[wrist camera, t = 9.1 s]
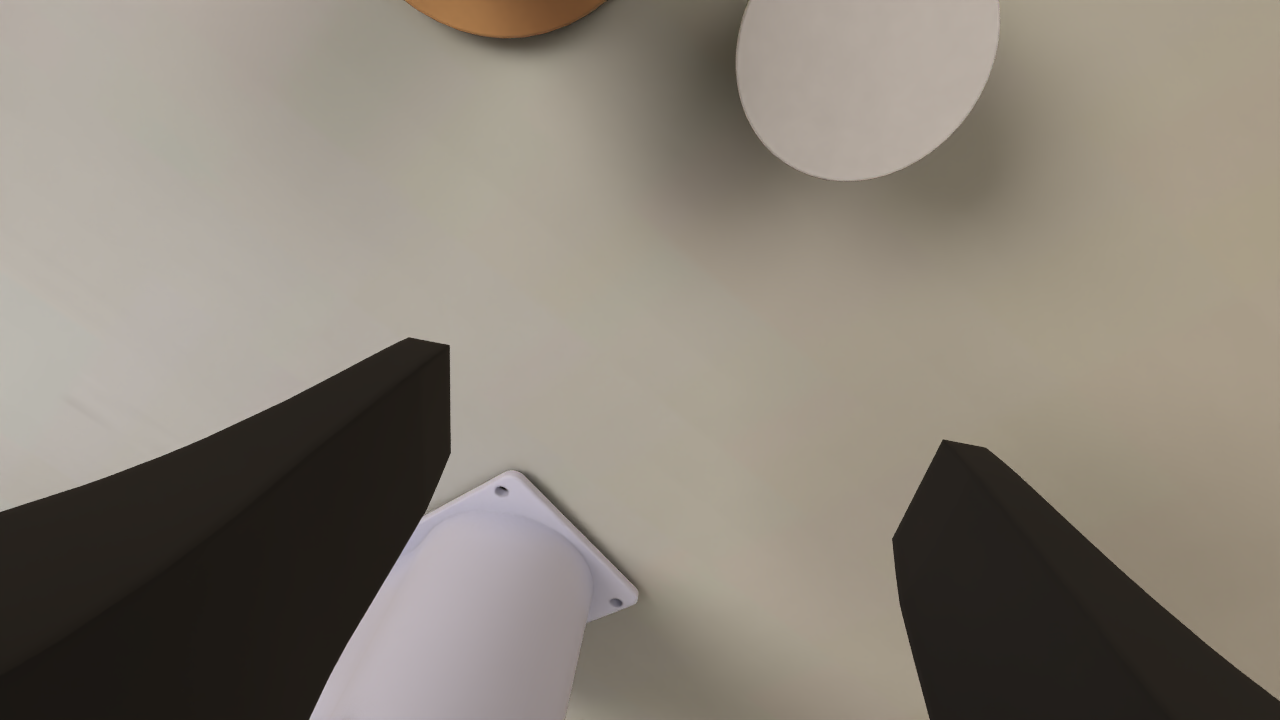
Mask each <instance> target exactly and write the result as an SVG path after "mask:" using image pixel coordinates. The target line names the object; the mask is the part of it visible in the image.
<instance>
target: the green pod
mask: <svg viewBox="0 0 1280 720" xmlns="http://www.w3.org/2000/svg"><path fill="white" fill-rule="evenodd" d="M999 32H1000V5H999V0H748V3H747V5H746V9H745V12H744V14H743V18H742V21H741V25H740V29H739V33H738V40H737V47H736V78H737V87H738V92H739V96H740V100H741V104H742V107H743V109H744V112H745V115H746V117H747V119H748V121H749V123H750V125H751V127H752V129H753V131H754V132H755V133H756V135H757V136H758V138H759V139H760V140H761V142H762V143H763V144H764V145H765V146H766V147H767V148H768V149H769V150H770V151H771V153H772V154H774V155H775V156H776V157H777V158H779V159H780V160H781V161H783V162H784V163H785V164H787V165H789V166H790V167H792V168H794V169H796V170H797V171H800V172H802V173H805V174H807V175H810V176H813V177H817V178H821V179H825V180H832V181H862V180H869V179H874V178H878V177H882V176H886V175H889V174H891V173H894V172H897V171H899V170H902V169H904V168H906V167H908V166H910V165H912V164H914V163H915V162H917V161H919V160H921V159H922V158H923V157H925V156H926V155H928V154H929V153H931V152H932V151H934V150H935V149H936V148H937V147H938V146H940V145H941V144H942V143H943V142H944V141H946V140H947V139H948V138H949V137H950V136H951V135H952V133H953V132H954V131H955V130H956V129H957V128H958V127H959V126H960V125H961V124H962V122H963V121H964V120H965V118H966V117H967V116H968V114H969V113H970V112H971V110H972V109H973V107H974V105H975V104H976V102H977V101H978V99H979V97H980V96H981V94H982V91H983V89H984V87H985V85H986V83H987V81H988V79H989V76H990V73H991V70H992V67H993V64H994V61H995V57H996V52H997V47H998V43H999Z"/></svg>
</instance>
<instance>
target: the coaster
mask: <svg viewBox="0 0 1280 720" xmlns="http://www.w3.org/2000/svg"><path fill="white" fill-rule="evenodd" d="M404 1H406V2H407V3H409V4H410V5H411V6H413V7H414V8H415V9H417V10H418V11H420V12H422V13H423V14H425V15H427V16H429V17H431V18H432V19H434V20H436V21H438V22H440V23H442V24H445V25H447V26H450V27H452V28H455V29H457V30H460V31H463V32H467V33H471V34H475V35H479V36H485V37H495V38H523V37H529V36H534V35H540V34H545V33H548V32H551V31H553V30H556V29H559V28H562V27H564V26H567V25H569V24H571V23H573V22H575V21H577V20H579V19H581V18H582V17H584V16H586V15H588V14H590V13H591V12H592V11H594V10H595V9H596V8H598V7H599V6H600V5H602V4H603V3H604V2H606V1H607V0H404Z"/></svg>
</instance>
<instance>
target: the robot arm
mask: <svg viewBox="0 0 1280 720" xmlns="http://www.w3.org/2000/svg"><path fill="white" fill-rule="evenodd" d="M450 453H451V433H450V345H446V344H440V343H435V342H430V341H425V340H419V339H414V338H407V339H404V340H402V341H400V342H398V343H396V344H394V345H392V346H390V347H388V348H386V349H384V350H382V351H380V352H378V353H376V354H374V355H372V356H370V357H368V358H366V359H365V360H363V361H361V362H359V363H357V364H355V365H353V366H351V367H350V368H348V369H346V370H344V371H342V372H340V373H338V374H336V375H334V376H332V377H330V378H328V379H327V380H325V381H323V382H321V383H319V384H317V385H315V386H313V387H311V388H309V389H307V390H305V391H303V392H301V393H299V394H297V395H296V396H294V397H292V398H290V399H288V400H286V401H284V402H282V403H280V404H277V405H275V406H273V407H271V408H269V409H267V410H265V411H262V412H260V413H258V414H256V415H254V416H252V417H250V418H247V419H245V420H243V421H241V422H239V423H237V424H234V425H232V426H230V427H228V428H226V429H224V430H222V431H219V432H217V433H215V434H213V435H211V436H209V437H207V438H204V439H202V440H200V441H197V442H195V443H193V444H190V445H188V446H186V447H183V448H181V449H178V450H176V451H173V452H171V453H168V454H166V455H163V456H161V457H159V458H156V459H153V460H151V461H148V462H145V463H143V464H140V465H137V466H135V467H132V468H130V469H127V470H124V471H122V472H119V473H116V474H114V475H111V476H108V477H106V478H103V479H100V480H97V481H94V482H92V483H89V484H86V485H83V486H80V487H77V488H74V489H71V490H68V491H64V492H61V493H58V494H55V495H52V496H49V497H46V498H43V499H40V500H36V501H33V502H30V503H27V504H24V505H21V506H18V507H15V508H12V509H8V510H5V511H2V512H0V720H565V718H566V713H567V708H568V704H569V699H570V695H571V690H572V686H573V681H574V677H575V672H576V667H577V663H578V658H579V654H580V649H581V645H582V640H583V636H584V631H585V626H586V623H589V622H591V621H594V620H596V619H599V618H602V617H604V616H607V615H609V614H612V613H614V612H617V611H619V610H622V609H625V608H627V607H630V606H632V605H634V604H636V603H637V601H638V595H639V592H638V590H637V588H636V587H635V586H634V585H633V584H632V583H631V582H630V581H629V580H628V579H627V578H626V577H625V576H624V575H623V574H622V573H621V572H620V571H619V570H618V569H617V568H616V567H615V566H614V565H613V564H612V563H611V562H610V561H609V560H608V559H607V558H606V557H605V556H604V555H603V554H602V553H601V552H600V551H599V550H598V549H597V548H596V547H595V546H594V545H593V544H592V543H591V542H590V541H589V540H588V539H587V538H586V537H585V536H584V535H583V534H582V533H581V532H580V531H579V530H578V529H577V528H576V527H575V526H574V525H573V524H572V523H571V522H570V521H569V520H568V519H567V518H566V517H565V516H564V515H563V514H562V513H561V512H560V511H559V510H558V509H557V508H556V507H555V506H554V505H553V504H552V503H551V502H550V501H549V500H548V499H547V498H546V497H545V496H544V495H543V494H542V493H541V492H540V491H539V490H538V489H537V488H536V487H535V486H534V485H533V484H532V483H531V482H530V481H529V480H528V479H527V478H526V477H525V476H524V475H523V474H522V473H520V472H518V471H515V470H509V471H505V472H503V473H502V474H500V475H498V476H496V477H494V478H492V479H491V480H489V481H487V482H485V483H483V484H481V485H480V486H478V487H476V488H474V489H472V490H470V491H468V492H467V493H465V494H463V495H461V496H459V497H457V498H456V499H454V500H452V501H450V502H448V503H446V504H445V505H443V506H441V507H439V508H437V509H435V510H434V511H432V512H430V513H428V514H426V515H424V513H425V512H426V510H427V507H428V505H429V503H430V501H431V498H432V496H433V494H434V492H435V489H436V487H437V485H438V482H439V480H440V478H441V475H442V473H443V470H444V468H445V465H446V463H447V461H448V458H449V456H450ZM500 487H504V488H506V489H507V490H504V489H502V488H500ZM423 515H424V516H423ZM892 541H893V551H894V561H895V571H896V579H897V587H898V594H899V601H900V607H901V611H902V615H903V619H904V623H905V627H906V631H907V635H908V639H909V643H910V646H911V650H912V654H913V658H914V662H915V666H916V669H917V673H918V677H919V681H920V684H921V688H922V692H923V696H924V699H925V703H926V707H927V711H928V714H929V718H930V720H1280V701H1279V700H1277V699H1276V698H1275V697H1273V696H1272V695H1271V694H1269V693H1268V692H1267V691H1266V690H1264V689H1263V688H1262V687H1260V686H1259V685H1258V684H1256V683H1255V682H1254V681H1252V680H1251V679H1250V678H1249V677H1247V676H1246V675H1245V674H1243V673H1242V672H1241V671H1239V670H1238V669H1237V668H1236V667H1234V666H1233V665H1232V664H1231V663H1229V662H1228V661H1227V660H1226V659H1224V658H1223V657H1222V656H1221V655H1219V654H1218V653H1217V652H1216V651H1215V650H1213V649H1212V648H1211V647H1210V646H1208V645H1207V644H1206V643H1205V642H1203V641H1202V640H1201V639H1200V638H1199V637H1198V636H1196V635H1195V634H1194V633H1193V632H1192V631H1191V630H1189V629H1188V628H1187V627H1186V626H1185V625H1183V624H1182V623H1181V622H1180V621H1179V620H1178V619H1176V618H1175V617H1174V616H1173V615H1172V614H1171V613H1169V612H1168V611H1167V610H1166V609H1165V608H1163V607H1162V606H1161V605H1160V604H1159V603H1158V602H1156V601H1155V600H1154V599H1153V598H1152V597H1151V596H1149V595H1148V594H1147V593H1146V592H1145V591H1144V590H1143V589H1142V588H1140V587H1139V586H1138V585H1137V584H1136V583H1135V582H1134V581H1133V580H1131V579H1130V578H1129V577H1128V576H1127V575H1126V574H1125V573H1124V572H1122V571H1121V570H1120V569H1119V568H1118V567H1117V566H1116V565H1115V564H1114V563H1113V562H1111V561H1110V560H1109V559H1108V558H1107V557H1106V556H1105V555H1104V554H1103V553H1102V552H1100V551H1099V550H1098V549H1097V548H1096V547H1095V546H1094V545H1093V544H1092V543H1091V542H1090V541H1089V540H1087V539H1086V538H1085V537H1084V536H1083V535H1082V534H1081V533H1080V532H1079V531H1078V530H1077V529H1076V528H1075V527H1073V526H1072V525H1071V524H1070V523H1069V522H1068V521H1067V520H1066V519H1065V518H1064V517H1063V516H1062V515H1061V514H1060V513H1059V512H1057V511H1056V510H1055V509H1054V508H1053V507H1052V506H1051V505H1050V504H1049V503H1048V502H1047V501H1046V500H1045V499H1044V498H1043V497H1041V496H1040V495H1039V494H1038V493H1037V492H1036V491H1035V490H1034V489H1033V488H1032V487H1031V486H1030V485H1028V484H1027V483H1026V482H1025V481H1024V480H1023V479H1022V478H1021V477H1020V476H1019V475H1018V474H1016V473H1015V472H1014V471H1013V470H1012V469H1011V468H1010V467H1009V466H1007V465H1006V464H1005V463H1004V462H1003V461H1002V460H1000V459H999V458H998V457H997V456H996V455H994V454H993V453H992V452H991V451H989V450H988V449H987V448H984V447H979V446H974V445H969V444H964V443H958V442H953V441H948V440H942V442H941V444H940V446H939V448H938V450H937V452H936V454H935V456H934V458H933V460H932V462H931V464H930V466H929V468H928V470H927V472H926V474H925V476H924V478H923V480H922V482H921V484H920V486H919V487H918V489H917V491H916V493H915V495H914V497H913V499H912V501H911V503H910V505H909V507H908V509H907V511H906V513H905V515H904V517H903V519H902V521H901V523H900V525H899V527H898V529H897V531H896V533H895V534H894V536H893V538H892Z"/></svg>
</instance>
